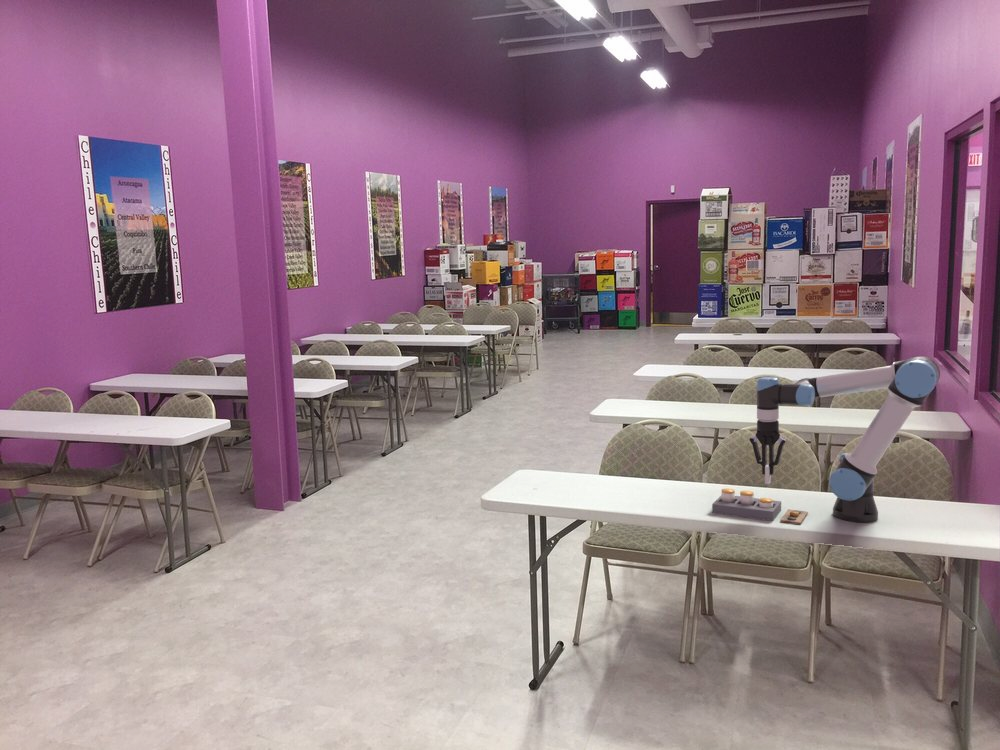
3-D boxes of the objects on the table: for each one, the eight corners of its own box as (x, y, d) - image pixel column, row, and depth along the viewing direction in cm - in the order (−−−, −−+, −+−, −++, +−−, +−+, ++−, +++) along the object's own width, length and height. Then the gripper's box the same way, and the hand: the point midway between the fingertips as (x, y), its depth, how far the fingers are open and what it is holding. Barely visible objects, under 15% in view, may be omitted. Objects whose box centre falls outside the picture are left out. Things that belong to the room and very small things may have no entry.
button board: (781, 510, 305) (781, 501, 304) (773, 521, 293) (773, 511, 292) (722, 503, 316) (722, 494, 315) (712, 513, 304) (712, 503, 303)
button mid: (754, 503, 305) (755, 491, 304) (751, 506, 301) (752, 494, 300) (741, 501, 307) (742, 490, 307) (738, 504, 303) (738, 493, 302)
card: (807, 513, 300) (807, 508, 300) (800, 524, 288) (800, 519, 288) (788, 511, 304) (788, 506, 303) (780, 522, 292) (780, 516, 291)
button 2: (774, 510, 302) (774, 498, 301) (771, 513, 297) (771, 502, 297) (760, 508, 304) (761, 497, 303) (757, 512, 300) (758, 500, 299)
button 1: (736, 500, 308) (736, 489, 308) (732, 504, 304) (732, 492, 304) (723, 499, 311) (723, 487, 310) (719, 502, 307) (720, 491, 306)
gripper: (788, 418, 296) (788, 482, 299) (751, 417, 302) (752, 479, 305) (784, 422, 289) (784, 487, 292) (747, 420, 296) (747, 483, 299)
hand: (767, 483), depth 299 cm, fingers closed
